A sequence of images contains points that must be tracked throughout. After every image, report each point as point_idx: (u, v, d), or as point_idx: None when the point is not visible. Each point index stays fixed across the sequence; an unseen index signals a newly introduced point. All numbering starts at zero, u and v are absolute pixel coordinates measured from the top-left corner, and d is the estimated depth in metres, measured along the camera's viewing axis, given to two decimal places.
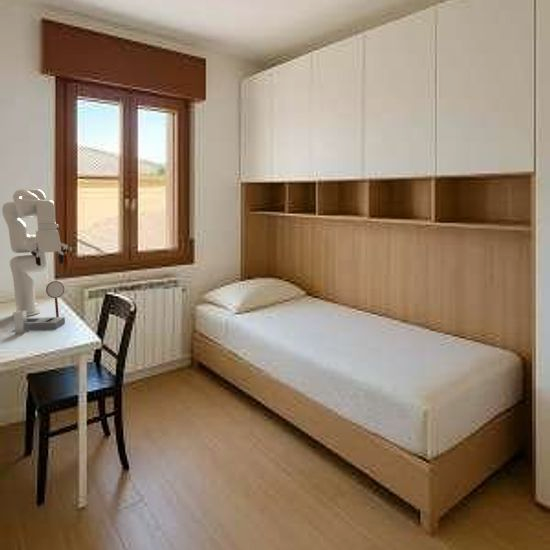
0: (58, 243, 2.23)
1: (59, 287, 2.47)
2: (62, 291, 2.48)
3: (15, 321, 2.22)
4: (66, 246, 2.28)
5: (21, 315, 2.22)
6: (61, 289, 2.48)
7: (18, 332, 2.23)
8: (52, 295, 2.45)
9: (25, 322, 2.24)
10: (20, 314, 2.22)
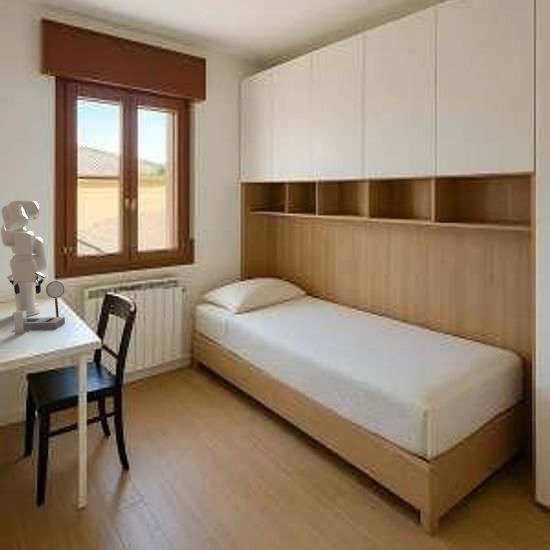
0: None
1: (59, 287, 2.47)
2: (62, 291, 2.48)
3: (15, 321, 2.22)
4: None
5: (21, 315, 2.22)
6: (61, 289, 2.48)
7: (18, 332, 2.23)
8: (52, 295, 2.45)
9: (25, 322, 2.24)
10: (20, 314, 2.22)
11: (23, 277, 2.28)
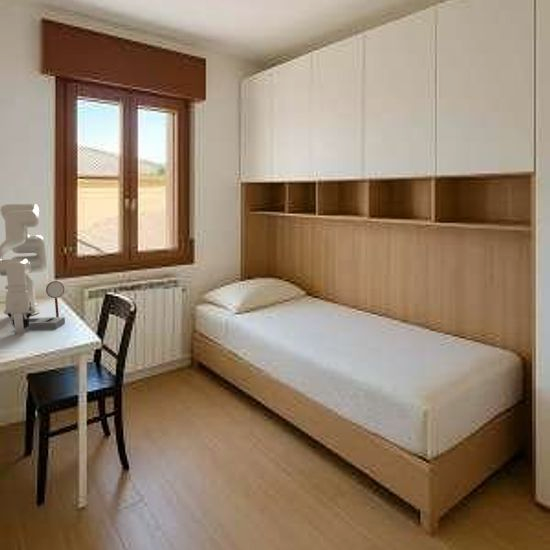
0: None
1: (59, 287, 2.47)
2: (62, 291, 2.48)
3: (15, 321, 2.22)
4: None
5: (21, 315, 2.22)
6: (61, 289, 2.48)
7: (18, 332, 2.23)
8: (52, 295, 2.45)
9: None
10: (20, 314, 2.22)
11: (16, 308, 2.20)
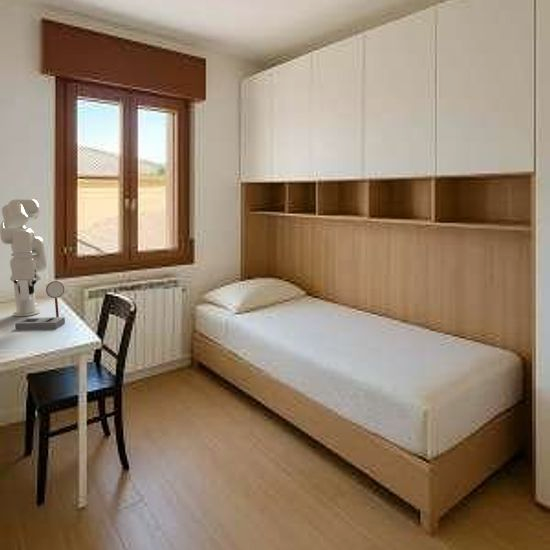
0: None
1: (59, 287, 2.47)
2: (62, 291, 2.48)
3: (21, 287, 2.29)
4: None
5: (26, 282, 2.29)
6: (61, 289, 2.48)
7: (24, 298, 2.30)
8: (52, 295, 2.45)
9: None
10: (26, 281, 2.29)
11: (21, 275, 2.27)
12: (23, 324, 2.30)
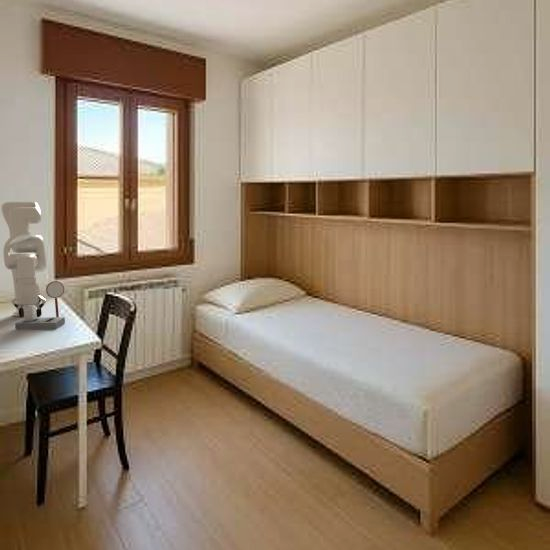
0: None
1: (59, 287, 2.47)
2: (62, 291, 2.48)
3: (25, 315, 2.33)
4: None
5: (31, 310, 2.32)
6: (61, 289, 2.48)
7: None
8: (52, 295, 2.45)
9: (34, 316, 2.35)
10: (30, 309, 2.32)
11: (25, 300, 2.31)
12: (23, 324, 2.30)
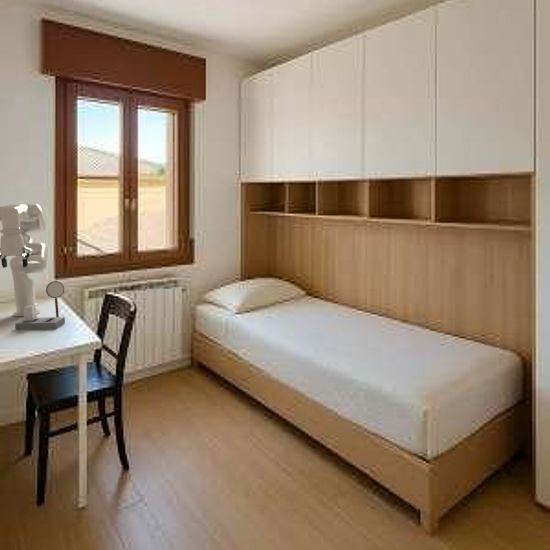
0: None
1: (59, 287, 2.47)
2: (62, 291, 2.48)
3: (25, 315, 2.33)
4: None
5: (31, 310, 2.32)
6: (61, 289, 2.48)
7: None
8: (52, 295, 2.45)
9: (34, 316, 2.35)
10: (30, 309, 2.32)
11: (10, 250, 2.34)
12: (23, 324, 2.30)
